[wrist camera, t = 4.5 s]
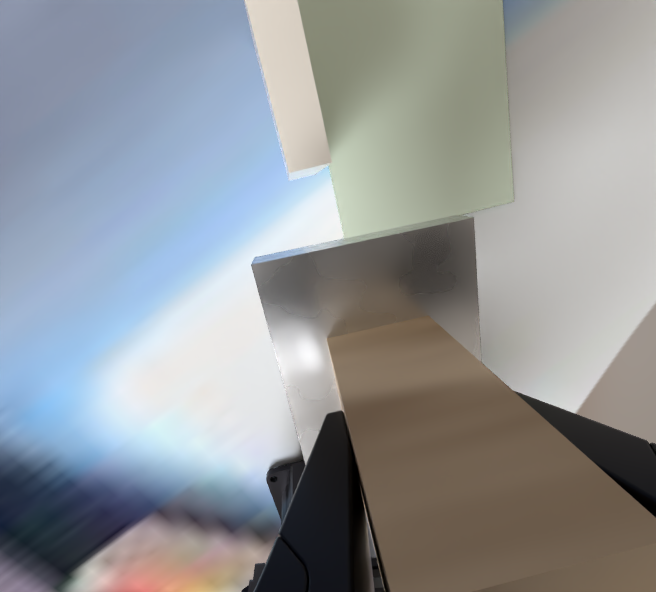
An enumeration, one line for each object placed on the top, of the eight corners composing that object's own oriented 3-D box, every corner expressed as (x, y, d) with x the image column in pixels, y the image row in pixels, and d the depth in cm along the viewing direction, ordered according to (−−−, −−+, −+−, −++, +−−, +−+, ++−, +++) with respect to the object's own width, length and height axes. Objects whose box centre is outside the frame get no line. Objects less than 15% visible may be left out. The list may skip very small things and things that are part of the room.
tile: (316, 174, 18) (332, 162, 11) (288, 181, 18) (289, 172, 11) (286, 45, 16) (284, -60, 9) (255, 52, 16) (232, -49, 9)
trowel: (471, 433, 12) (718, 762, 5) (311, 471, 12) (344, 874, 5) (455, 215, 10) (889, 276, 3) (254, 257, 10) (155, 448, 2)
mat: (510, 201, 20) (514, 201, 19) (345, 243, 19) (346, 244, 19) (492, -109, 15) (495, -115, 15) (278, -63, 15) (278, -68, 15)
